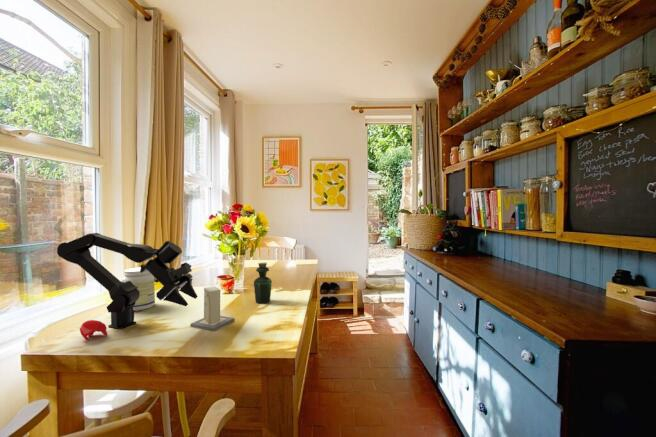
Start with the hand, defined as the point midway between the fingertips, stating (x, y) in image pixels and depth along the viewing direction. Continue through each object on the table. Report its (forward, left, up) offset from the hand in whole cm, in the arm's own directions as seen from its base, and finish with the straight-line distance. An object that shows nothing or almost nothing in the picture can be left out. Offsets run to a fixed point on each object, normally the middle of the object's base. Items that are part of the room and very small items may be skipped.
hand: (192, 301), depth 117 cm
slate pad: (+3, -7, -8) cm, 11 cm away
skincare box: (+3, -7, -8) cm, 11 cm away
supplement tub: (+6, +37, -9) cm, 39 cm away
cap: (-22, +21, -9) cm, 32 cm away
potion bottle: (+33, -9, -9) cm, 35 cm away
